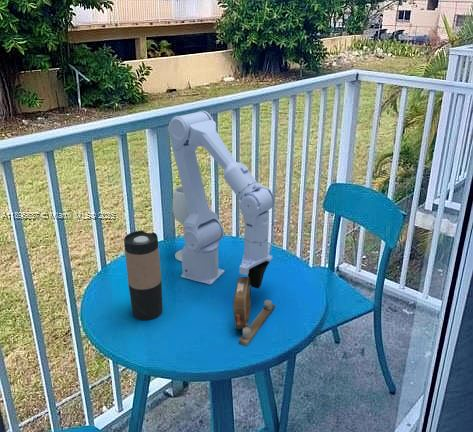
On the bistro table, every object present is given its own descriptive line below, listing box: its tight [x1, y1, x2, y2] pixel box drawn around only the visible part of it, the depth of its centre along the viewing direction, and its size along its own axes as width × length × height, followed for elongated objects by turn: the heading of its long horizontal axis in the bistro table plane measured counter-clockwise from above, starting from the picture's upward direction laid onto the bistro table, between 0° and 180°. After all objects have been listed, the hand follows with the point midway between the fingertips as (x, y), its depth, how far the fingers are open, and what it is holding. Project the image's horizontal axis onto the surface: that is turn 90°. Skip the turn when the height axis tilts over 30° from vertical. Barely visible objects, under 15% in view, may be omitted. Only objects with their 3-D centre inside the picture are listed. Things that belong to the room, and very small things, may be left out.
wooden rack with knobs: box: [238, 299, 276, 347], centre depth 110 cm, size 2×16×3 cm, turn 154°
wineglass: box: [172, 185, 189, 262], centre depth 137 cm, size 9×9×21 cm
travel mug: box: [123, 230, 163, 321], centre depth 111 cm, size 8×8×20 cm
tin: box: [233, 276, 252, 330], centre depth 111 cm, size 15×3×8 cm, turn 174°
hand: (255, 286), depth 119 cm, fingers closed
